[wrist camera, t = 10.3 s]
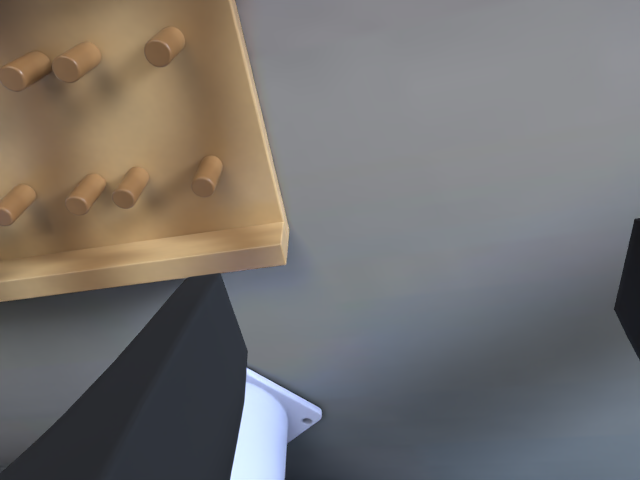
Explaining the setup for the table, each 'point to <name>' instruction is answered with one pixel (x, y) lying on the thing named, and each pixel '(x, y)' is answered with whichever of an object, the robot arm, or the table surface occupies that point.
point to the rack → (130, 147)
